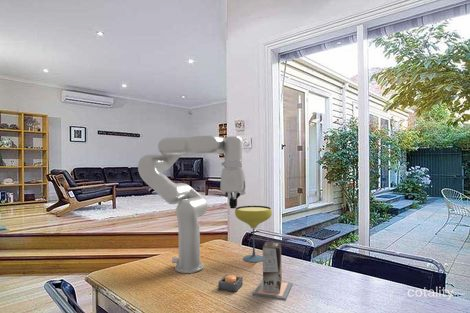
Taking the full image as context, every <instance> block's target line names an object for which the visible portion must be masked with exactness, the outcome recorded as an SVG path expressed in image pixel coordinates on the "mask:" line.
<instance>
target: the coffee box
mask: <svg viewBox="0 0 470 313" xmlns="http://www.w3.org/2000/svg"><path fill="white" fill-rule="evenodd" d="M262 256H263V261H262V279H263V291H264V292H274V293H280V290H281V284H282V282H283V281H282V278H283V277H282V272H283V271H282V242H281V241H265V242H264V244H263V246H262Z"/></svg>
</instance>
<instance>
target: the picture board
mask: <svg viewBox="0 0 470 313" xmlns="http://www.w3.org/2000/svg"><path fill="white" fill-rule="evenodd" d="M292 286H293V282H288V281H287V282H286V281H282V284H281V290H280V293H274V292H264V291H263V278H262V279H261V280H260V282H259V284H258V285H257V287H256V288H255V290H254V291H253V292H252V296H253V297H261V298H262V297H263V298H269V299H275V300H281V301H286V300H287V298H288V296H289V294H290V291H291V288H292Z"/></svg>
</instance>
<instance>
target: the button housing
mask: <svg viewBox="0 0 470 313" xmlns="http://www.w3.org/2000/svg"><path fill="white" fill-rule="evenodd" d="M228 275H229V274H225V275H224V276H223V277H221V278H220V279H219V281H218V282H217V285H218V286H217V290H218V291H224V292H225V291H226V292H232V293H237V292H238V291H239V290H240V289H241V288H242V286H243V276H236V275H235V276H236V283H230V282H225V277H226V276H228Z"/></svg>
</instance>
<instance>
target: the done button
mask: <svg viewBox="0 0 470 313" xmlns="http://www.w3.org/2000/svg"><path fill="white" fill-rule="evenodd" d="M227 275H228V276H226V277H225V282H230V283H236V275H234V274H233V275H232V274H231V275H229V274H227Z"/></svg>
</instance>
